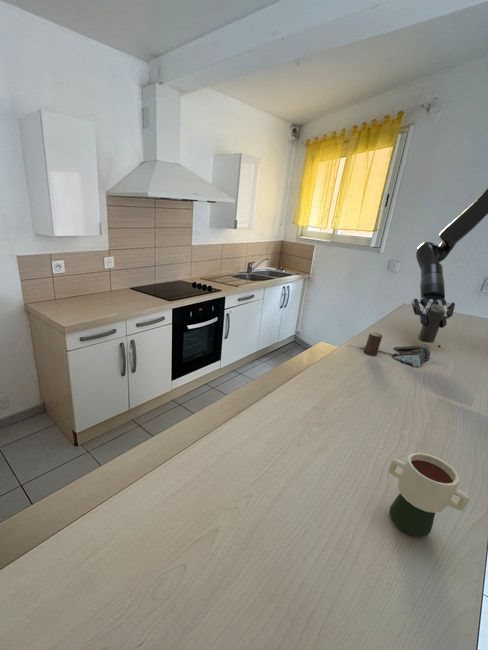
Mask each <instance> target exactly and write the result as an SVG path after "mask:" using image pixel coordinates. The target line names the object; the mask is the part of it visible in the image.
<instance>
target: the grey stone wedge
mask: <svg viewBox="0 0 488 650" xmlns="http://www.w3.org/2000/svg"><path fill="white" fill-rule="evenodd" d="M392 350H394V351H397V352H398V353H394V354H392V356H391V358H392V359H395V360H398V361H400V363H402V364H405V363H407V364H410V365H412V367H418V368H421V367H422V365H423V364H424V363H427V362H429V360H430V358H431V351H430V350H429V345H426V344H422V345H408V346H407V345H405V346H404V345H403V346H394V347H393V348H392Z"/></svg>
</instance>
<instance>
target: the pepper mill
mask: <svg viewBox="0 0 488 650" xmlns="http://www.w3.org/2000/svg"><path fill="white" fill-rule="evenodd" d="M444 308H445V305H444V306H442V305H437V304H433V305H432V307H431V309H428V311H427V313H426V315H427V324H426V325H425V326H423V325H422V324H421V328H420V331H419V334H418V337H417V340H418V341H421V342H423V343H427V344H433V343H435V340H436V338H437V335H438V332H439V329H440V324H441V322H442V319H443V316H444V314H445V312H446V311H445V312H444V311H443V309H444Z"/></svg>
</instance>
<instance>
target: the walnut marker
mask: <svg viewBox="0 0 488 650" xmlns="http://www.w3.org/2000/svg"><path fill="white" fill-rule="evenodd" d="M382 339H383V334H382V333H379V332H375V331H370V332H369V334H368V336H367V340H366V343H365V347H364V351H363V353H364V354H365V355H368V356H370V355H371V357H376V356H377V355H378V352H379V349H380V346H381V343H382Z"/></svg>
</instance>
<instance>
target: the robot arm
mask: <svg viewBox="0 0 488 650" xmlns="http://www.w3.org/2000/svg"><path fill="white" fill-rule="evenodd" d="M486 216H488V187H487V188H486V189H485V190H484V191H483V192H482V194H481V195H480V196H479V197H478V198H477V199H475V201H474V202H473V203H472V204H470V205H469V206H468V208H466V209H464V211H463V212H462V213H460V215H458V216H457V217H456V218H455V219H454V220H452V222H451V223H449V224H448V225H447V226H446V227H445V228H444V229H443V230H441V231H440V233H439V235H438V237H439V239H440V240H441V242H440V244H439V245H438V244H436V243H434V242H431V241H426V242H423V243H421V244H419V246H418V247H417V249H416V251H415V257H416V261H417V264H418V267H419V269H420V281H419V282H420V285H419V289H420V299H418V298H414V299H413V300H411V307H412V310H413V313H414V315H415V316H419V317H420V319H419V321H420V324H421V326H422V325H423V326H425V325H426V324H427V315H426V314H427V311H428V309H431V307H432V305H433V304H437V305H442V306H444V309H443V311H444V312H445V314H444V316H443V319H442V322H441V324H440V327H439V329H443V328H444V327H446V326H447V320H448V319H450V318H451V317H452V316H453V315H454V310H455V307H456V303H455V302H453V301H452V302H447V301H446V299H445V297H446V291H445V278H444V269H443V265H442V264H441V262H443V261H444V260H446V258H447V257H448V255H450V253H451V251H452V250H453V249H454V248H455V246H456V245H457V244H458V243H459V242H460V241H461V240H462V239H463V238H464V237H466V236H467V235H468V234H469V233H470V232H471V231H473V230H474V229H475V228H476V227H477V226H478V225H479V224H480V223H481V222H482V220H484V219H485V218H486ZM420 305H421V306H422V309H421V306H420Z"/></svg>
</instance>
